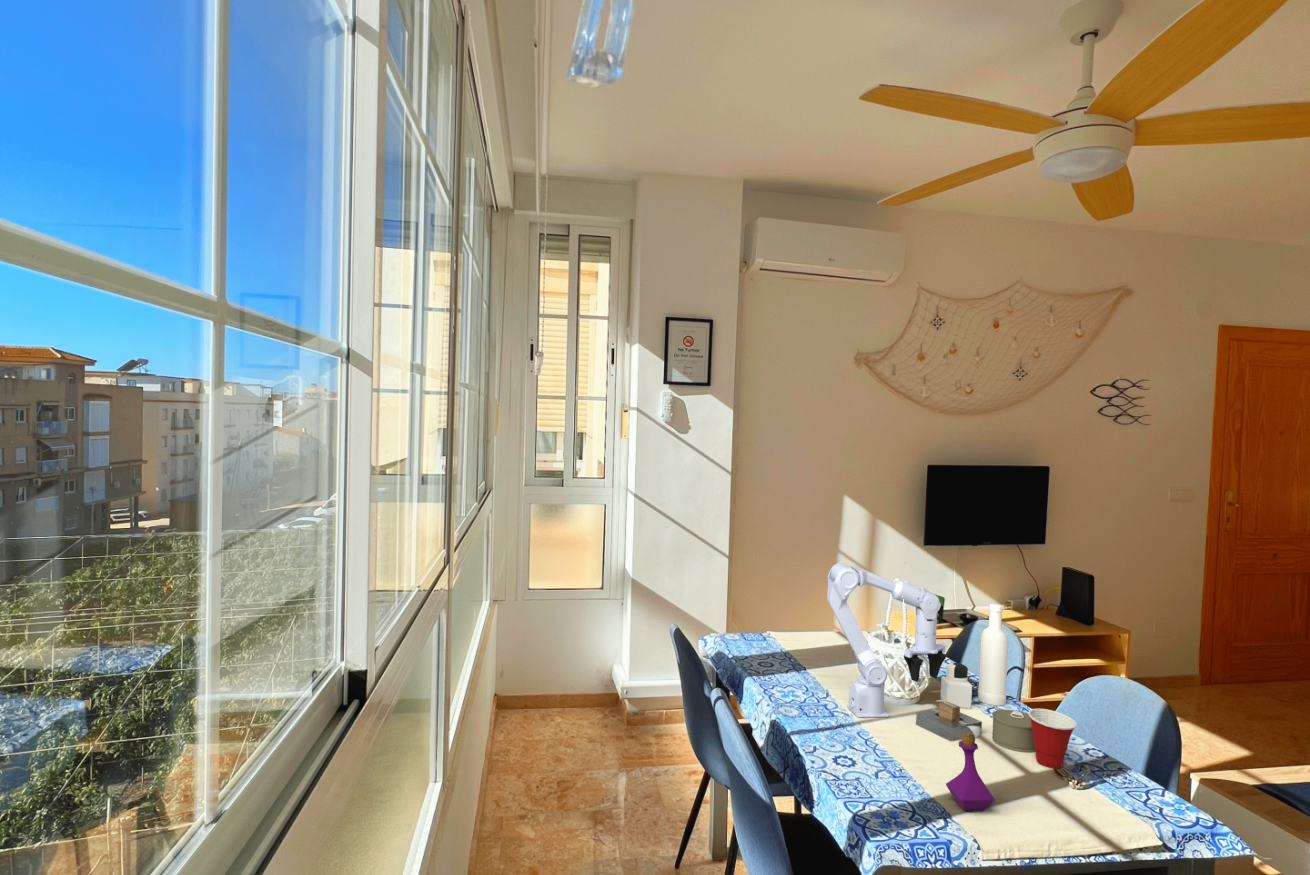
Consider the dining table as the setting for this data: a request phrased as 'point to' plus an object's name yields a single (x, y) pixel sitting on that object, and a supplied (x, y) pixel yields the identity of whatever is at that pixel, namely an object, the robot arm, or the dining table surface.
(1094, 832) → the dining table surface
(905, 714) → the dining table surface
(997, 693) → the bottle
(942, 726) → the block with rectangular hole
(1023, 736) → the can
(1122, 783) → the dining table surface
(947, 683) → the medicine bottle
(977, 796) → the perfume bottle
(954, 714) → the peg
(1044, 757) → the plastic cup
